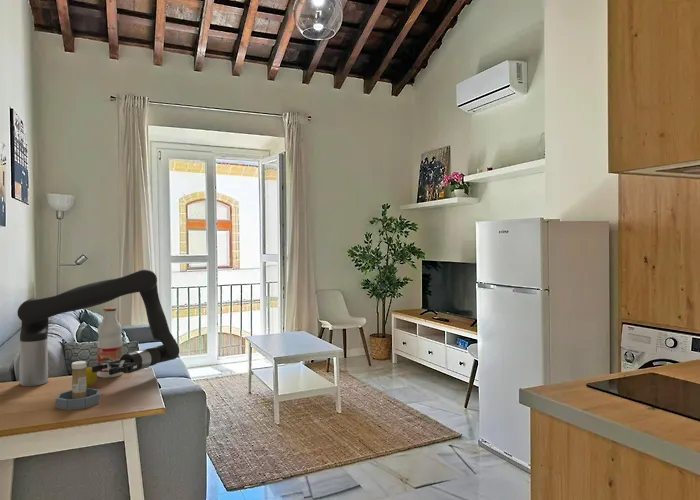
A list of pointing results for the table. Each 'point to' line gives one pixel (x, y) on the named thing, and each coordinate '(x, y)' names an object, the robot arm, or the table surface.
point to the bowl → (77, 400)
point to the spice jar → (79, 379)
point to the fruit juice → (109, 340)
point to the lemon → (90, 376)
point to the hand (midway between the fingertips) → (101, 370)
